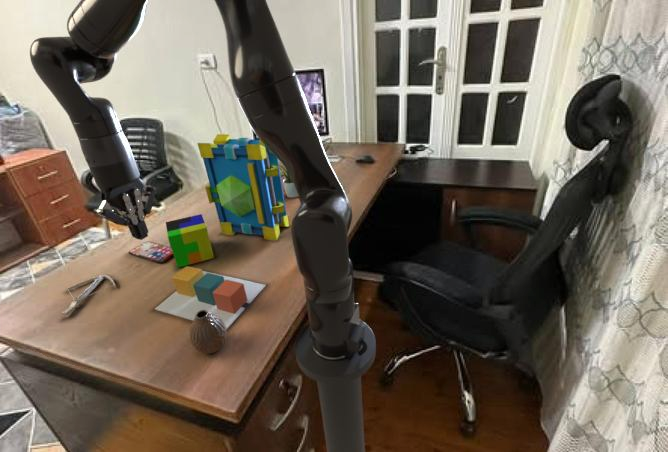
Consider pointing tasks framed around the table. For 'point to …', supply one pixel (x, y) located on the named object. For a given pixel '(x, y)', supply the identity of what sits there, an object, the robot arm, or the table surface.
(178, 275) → the mustard block
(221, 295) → the terracotta block
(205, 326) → the vase
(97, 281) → the crossbow
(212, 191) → the blue yellow-cornered frame
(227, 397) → the table surface
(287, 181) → the house plant
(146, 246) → the smartphone
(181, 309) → the desk mat
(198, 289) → the teal block
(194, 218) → the puzzle toy
